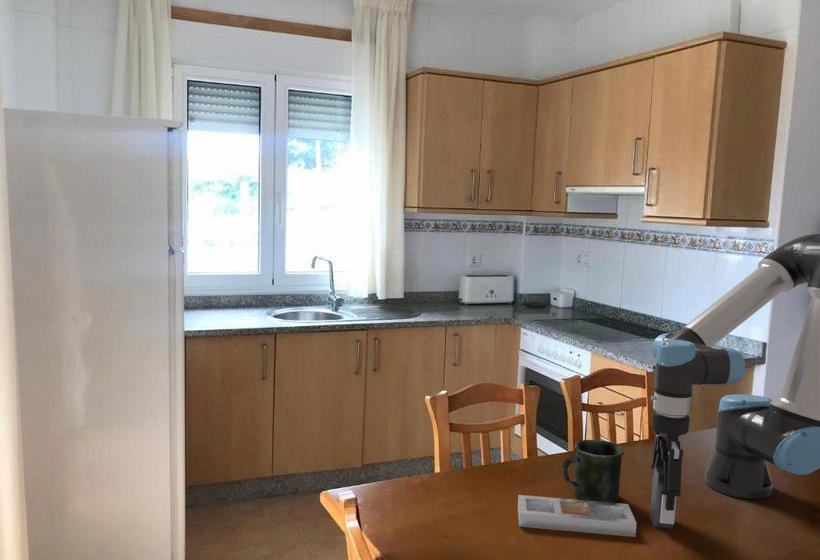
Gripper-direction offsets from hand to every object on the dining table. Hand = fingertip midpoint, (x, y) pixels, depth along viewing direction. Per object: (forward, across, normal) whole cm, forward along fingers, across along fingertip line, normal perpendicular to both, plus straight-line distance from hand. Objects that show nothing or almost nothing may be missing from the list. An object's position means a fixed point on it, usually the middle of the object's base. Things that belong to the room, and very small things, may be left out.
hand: (662, 513), depth 148 cm
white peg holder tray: (+2, +3, -19) cm, 19 cm away
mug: (+2, -10, -14) cm, 18 cm away
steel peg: (+2, 0, 0) cm, 2 cm away
